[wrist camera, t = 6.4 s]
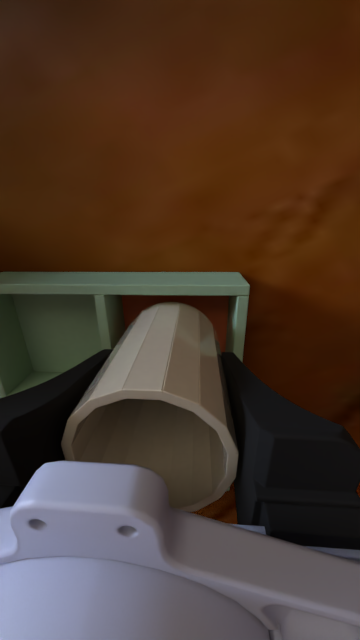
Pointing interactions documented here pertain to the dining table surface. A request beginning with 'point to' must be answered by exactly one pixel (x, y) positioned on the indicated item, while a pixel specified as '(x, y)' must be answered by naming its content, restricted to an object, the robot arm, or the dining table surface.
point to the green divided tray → (101, 315)
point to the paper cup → (162, 407)
